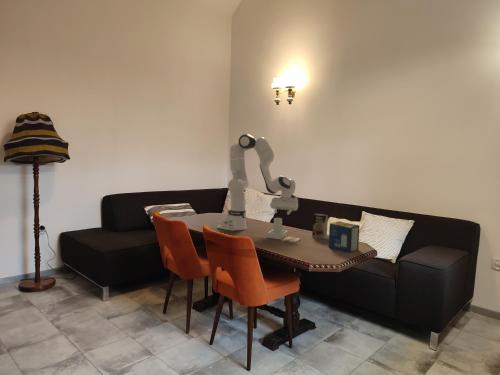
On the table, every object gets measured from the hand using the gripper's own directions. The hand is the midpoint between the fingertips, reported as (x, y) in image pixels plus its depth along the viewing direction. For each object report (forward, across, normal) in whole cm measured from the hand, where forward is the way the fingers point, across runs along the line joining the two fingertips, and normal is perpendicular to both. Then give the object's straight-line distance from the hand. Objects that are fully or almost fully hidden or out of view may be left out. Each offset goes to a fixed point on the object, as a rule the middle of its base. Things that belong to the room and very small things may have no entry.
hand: (281, 213), depth 259 cm
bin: (+16, 0, +6) cm, 17 cm away
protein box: (+23, +46, 0) cm, 52 cm away
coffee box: (+6, +26, +16) cm, 31 cm away
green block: (+16, 0, +6) cm, 17 cm away
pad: (+20, +11, +2) cm, 23 cm away
